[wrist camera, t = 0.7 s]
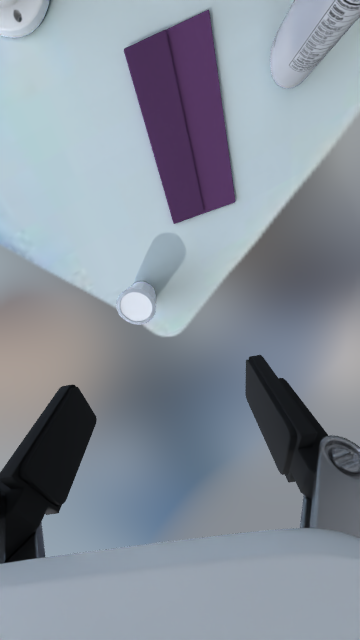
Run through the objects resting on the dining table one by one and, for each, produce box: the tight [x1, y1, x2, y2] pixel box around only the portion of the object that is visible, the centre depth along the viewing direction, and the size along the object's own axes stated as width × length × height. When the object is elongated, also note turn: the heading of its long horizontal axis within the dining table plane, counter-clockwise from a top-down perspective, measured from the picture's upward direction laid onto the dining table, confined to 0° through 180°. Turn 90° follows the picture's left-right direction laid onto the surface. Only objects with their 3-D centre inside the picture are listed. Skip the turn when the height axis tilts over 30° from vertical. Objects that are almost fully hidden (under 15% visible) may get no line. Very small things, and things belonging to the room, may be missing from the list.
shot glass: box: [116, 281, 156, 325], centre depth 34 cm, size 7×7×7 cm
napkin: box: [124, 10, 235, 224], centre depth 26 cm, size 20×11×1 cm, turn 17°
